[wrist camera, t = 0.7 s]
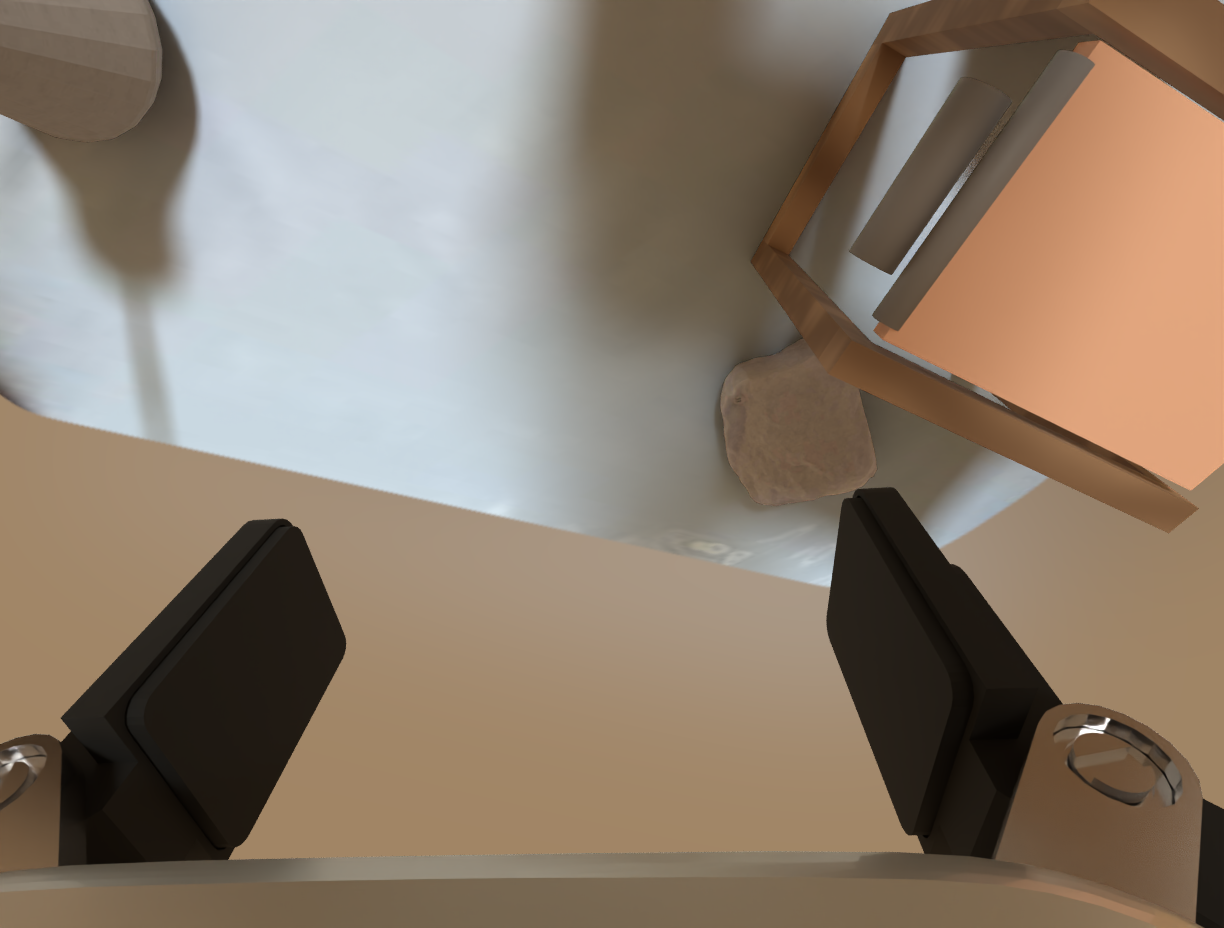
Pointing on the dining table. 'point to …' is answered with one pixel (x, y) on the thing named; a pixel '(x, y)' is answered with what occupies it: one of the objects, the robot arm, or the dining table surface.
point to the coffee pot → (78, 65)
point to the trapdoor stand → (952, 21)
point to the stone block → (794, 428)
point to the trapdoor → (1071, 257)
